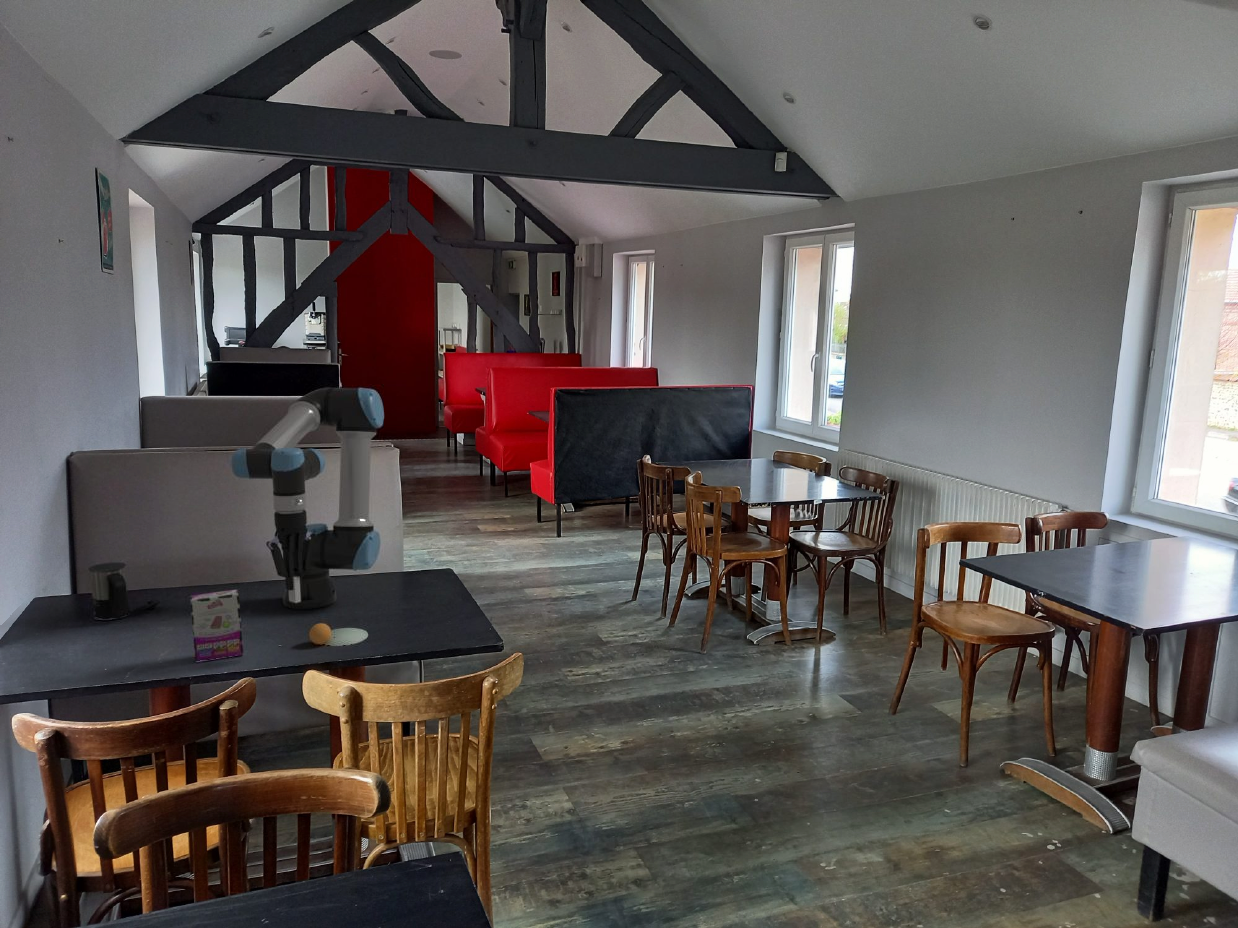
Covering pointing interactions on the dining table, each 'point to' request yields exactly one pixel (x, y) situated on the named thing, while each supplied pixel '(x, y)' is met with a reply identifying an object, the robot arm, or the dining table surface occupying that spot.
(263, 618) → the dining table surface
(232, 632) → the candy bar box
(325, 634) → the ball
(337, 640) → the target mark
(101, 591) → the milk frother
